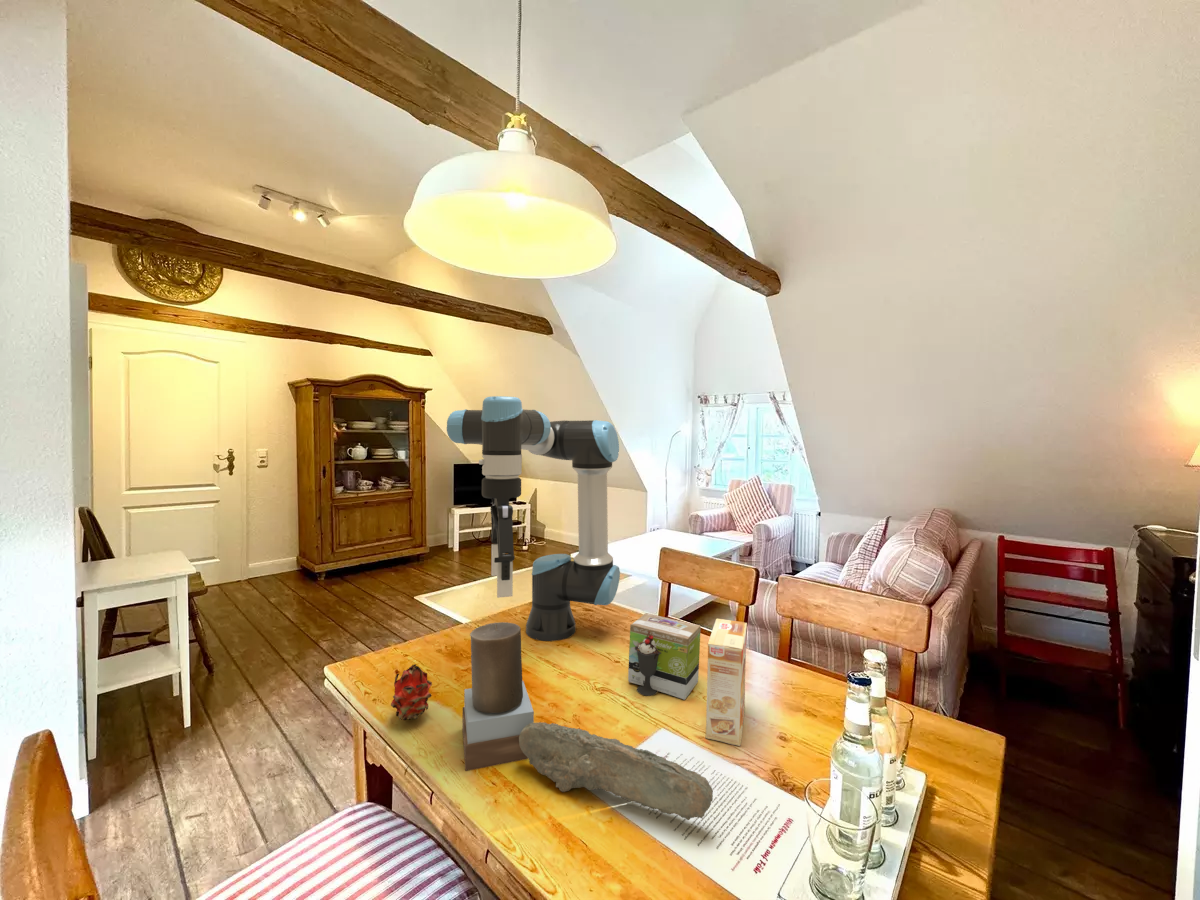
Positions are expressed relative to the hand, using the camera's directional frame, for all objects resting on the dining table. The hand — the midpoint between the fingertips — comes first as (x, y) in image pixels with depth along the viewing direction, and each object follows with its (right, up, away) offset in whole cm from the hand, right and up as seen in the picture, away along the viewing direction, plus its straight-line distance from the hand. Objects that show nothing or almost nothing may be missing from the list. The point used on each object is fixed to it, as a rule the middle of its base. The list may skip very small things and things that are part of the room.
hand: (501, 585), depth 95 cm
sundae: (+31, -31, +21) cm, 48 cm away
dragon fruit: (-21, -31, +8) cm, 38 cm away
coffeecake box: (+46, -32, +9) cm, 57 cm away
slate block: (-1, -27, +1) cm, 27 cm away
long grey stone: (+20, -32, -13) cm, 40 cm away
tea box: (+35, -31, +24) cm, 52 cm away
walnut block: (-1, -32, +1) cm, 32 cm away
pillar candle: (-1, -23, 0) cm, 23 cm away
